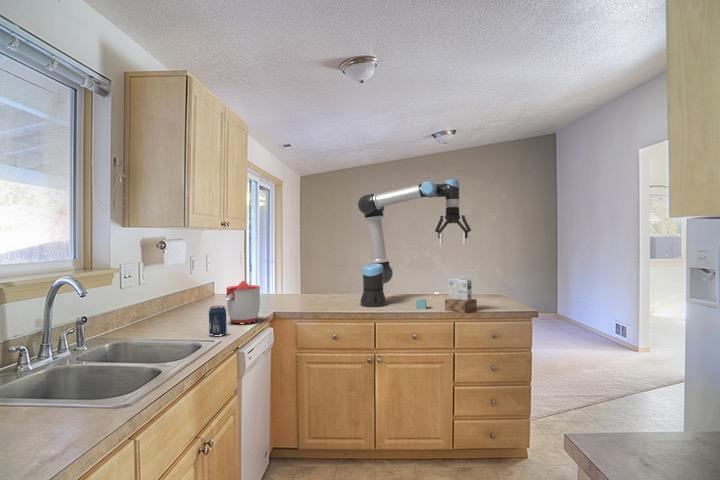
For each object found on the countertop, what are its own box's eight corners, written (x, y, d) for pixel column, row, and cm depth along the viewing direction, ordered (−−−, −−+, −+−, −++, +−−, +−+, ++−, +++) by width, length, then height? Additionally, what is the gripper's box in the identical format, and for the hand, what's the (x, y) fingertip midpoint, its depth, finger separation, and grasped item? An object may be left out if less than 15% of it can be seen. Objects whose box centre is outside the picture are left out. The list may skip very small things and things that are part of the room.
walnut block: (445, 311, 234) (444, 300, 234) (457, 308, 243) (457, 297, 243) (464, 314, 226) (464, 302, 226) (476, 310, 235) (476, 299, 234)
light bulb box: (472, 299, 236) (471, 279, 236) (467, 300, 230) (467, 280, 230) (453, 297, 242) (453, 278, 242) (448, 299, 236) (448, 279, 236)
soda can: (223, 332, 190) (222, 304, 189) (229, 335, 184) (228, 306, 184) (207, 334, 185) (206, 306, 185) (212, 337, 180) (211, 308, 180)
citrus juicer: (217, 323, 208) (216, 281, 208) (248, 317, 221) (247, 278, 221) (236, 328, 198) (235, 283, 198) (267, 321, 211) (266, 280, 211)
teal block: (416, 309, 240) (416, 300, 240) (417, 307, 245) (417, 298, 245) (425, 309, 239) (425, 300, 239) (426, 307, 244) (426, 298, 244)
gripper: (476, 206, 247) (476, 244, 248) (433, 208, 259) (433, 244, 259) (472, 205, 241) (473, 244, 241) (429, 207, 252) (429, 244, 253)
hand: (452, 244), depth 250 cm, fingers open, 13 cm apart
